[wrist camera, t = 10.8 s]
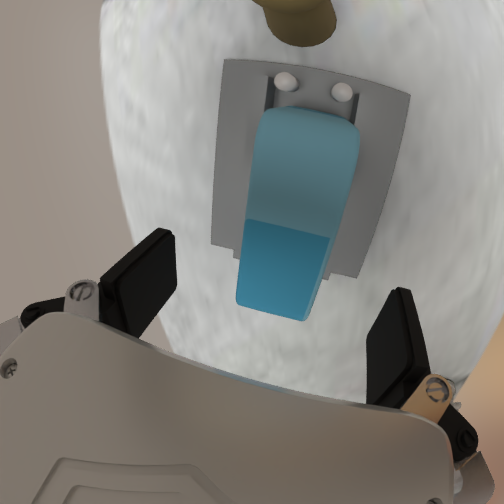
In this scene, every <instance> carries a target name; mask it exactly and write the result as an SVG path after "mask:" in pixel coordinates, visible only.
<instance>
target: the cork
mask: <svg viewBox="0 0 504 504" xmlns="http://www.w3.org/2000/svg"><path fill="white" fill-rule="evenodd" d="M252 1H254V2H255V3H257V4H258V5H260V6H261V7H263V10H264V13H265V17H266V20H267V24H268V27H269V29H270V30H271V32H272V33H273V35H274V36H276V37H277V38H278V39H279V40H281V41H282V42H285V43H287V44H289V45H292V46H299V47H308V46H315V45H317V44H320V43H323V42H324V41H325V40H327V39H328V38H329V37H331V35H332V33H333V32H334V30H335V28H336V21H337V19H336V15H335V12H334V9H333V6H332V3H331V1H330V0H252Z"/></svg>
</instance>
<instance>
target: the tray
mask: <svg viewBox="0 0 504 504" xmlns="http://www.w3.org/2000/svg"><path fill="white" fill-rule="evenodd" d="M410 96H411V95H410V94H407V93H404V92H402V91H399V90H396V89H393V88H390V87H387V86H384V85H381V84H377V83H374V82H370V81H367V80H363V79H360V78H356V77H352V76H348V75H344V74H339V73H335V72H330V71H325V70H320V69H315V68H309V67H303V66H296V65H289V64H281V63H272V62H262V61H248V60H224V65H223V74H222V83H221V93H220V104H219V115H218V126H217V139H216V153H215V168H214V184H213V203H212V226H211V244H212V245H216V246H221V247H225V248H229V249H233V250H234V254H233V258H236V259H240V255H241V246H242V238H243V230H244V222H245V213H246V205H247V197H248V189H249V181H250V173H251V166H252V158H253V150H254V143H255V137H256V132H257V128H258V125H259V122H260V119H261V117H262V115H263V113H264V112H265V111H266V110H268V109H271V108H278V107H285V106H296V107H302V108H307V109H311V110H316V111H321V112H325V113H330V114H334V115H338V116H342V117H344V118H345V119H346V120H348V121H349V122H350V123H352V124H353V125H354V126H355V127H356V128H357V129H358V130H359V133H360V147H359V154H358V159H357V164H356V168H355V172H354V176H353V180H352V184H351V187H350V191H349V195H348V198H347V202H346V205H345V209H344V212H343V216H342V219H341V222H340V226H339V229H338V232H337V235H336V239H335V242H334V245H333V248H332V251H331V254H330V257H329V260H328V263H327V266H326V269H325V272H324V275H323V278H322V279H325V280H328V279H329V276H330V273H335V274H340V275H344V276H348V277H353V278H357V277H358V274H359V272H360V269H361V267H362V264H363V262H364V259H365V256H366V254H367V251H368V248H369V246H370V243H371V240H372V238H373V235H374V232H375V229H376V226H377V223H378V220H379V217H380V214H381V211H382V208H383V205H384V202H385V199H386V195H387V192H388V189H389V185H390V182H391V178H392V175H393V171H394V168H395V164H396V160H397V156H398V152H399V148H400V144H401V140H402V136H403V131H404V127H405V122H406V117H407V112H408V107H409V101H410Z"/></svg>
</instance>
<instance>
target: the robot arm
mask: <svg viewBox="0 0 504 504" xmlns="http://www.w3.org/2000/svg"><path fill="white" fill-rule="evenodd" d="M176 287H177V272H176V253H175V236H174V235H173V234H172V232H171V231H170V230H167V229H163V228H157V229H156V230H154V231H153V232H152V233H151V234H150V235H148V236H147V237H146V238H145V239H144V240H142V241H141V242H140V243H139V244H138V245H137V246H135V247H134V248H133V249H132V250H131V251H130V252H128V253H127V254H126V255H125V256H124V257H123V258H122V259H120V260H119V261H118V262H117V263H116V264H115V265H114V266H113V267H111V268H110V269H109V270H108V271H107V272H106V273H105V274H104V275H103V276H102V277H101V278H100V282H99V283H98V284H97V283H96V282H94V281H92V280H88V279H87V280H80V281H77V282H75V283H73V284H72V285H71V286H70V287H69V288H68V289H67V292H66V296H65V297H61V298H56V299H51V300H47V301H41V302H37V303H33V304H31V305H29V306H27V307H26V308H25V309H24V310H23V312H22V314H21V317H20V318H18V316H16V317H14V318H12V319H10V320H8V321H6V322H4V323H1V324H0V504H486V503H487V502H488V501H489V499H490V498H491V497H492V495H493V492H494V487H495V484H494V480H493V478H492V475H491V473H490V471H489V469H488V466H487V464H486V462H485V460H484V458H483V456H482V454H481V451H478V452H477V451H476V449H477V446H478V435H477V432H476V431H475V429H474V428H473V427H472V426H471V425H470V424H469V422H468V421H467V420H466V419H465V418H464V417H463V416H462V415H461V414H460V413H459V412H458V409H459V408H460V407H461V403H460V402H456V403H453V399H452V397H453V395H454V393H455V386H454V384H453V382H451V381H449V380H446V379H445V378H444V377H442V376H441V375H438V374H431V371H430V366H429V361H428V355H427V351H426V346H425V341H424V337H423V333H422V329H421V326H420V322H419V318H418V314H417V310H416V307H415V303H414V300H413V296H412V293H411V290H409V289H405V288H401V287H397V288H396V289H395V290H394V289H393V290H391V292H390V294H389V296H388V298H387V300H386V302H385V304H384V306H383V308H382V310H381V311H380V313H379V315H378V317H377V319H376V321H375V322H374V324H373V326H372V328H371V329H370V331H369V333H368V335H367V339H366V353H367V395H366V404H363V403H356V402H350V401H345V400H339V399H334V398H328V397H323V396H318V395H313V394H308V393H304V392H299V391H295V390H291V389H286V388H282V387H278V386H274V385H271V384H267V383H263V382H259V381H256V380H252V379H249V378H245V377H242V376H239V375H235V374H232V373H229V372H226V371H223V370H219V369H216V368H213V367H210V366H208V365H205V364H202V363H199V362H196V361H193V360H191V359H188V358H185V357H182V356H180V355H177V354H174V353H172V352H169V351H167V350H164V349H162V348H159V347H157V346H154V345H152V344H150V343H147V342H145V341H142V340H140V339H139V337H140V336H141V335H142V333H143V332H144V330H145V329H146V328H147V327H148V325H149V324H150V322H151V321H152V320H153V319H154V317H155V316H156V315H157V313H158V312H159V311H160V310H161V308H162V307H163V306H164V304H165V303H166V302H167V300H168V299H169V298H170V296H171V295H172V294H173V293H174V291H175V290H176Z"/></svg>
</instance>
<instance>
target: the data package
mask: <svg viewBox="0 0 504 504" xmlns="http://www.w3.org/2000/svg"><path fill="white" fill-rule="evenodd" d="M359 147H360V133H359V130H358V129H357V128H356V127H355V126H354V125H353V124H352V123H350V122H349V121H348V120H346V119H345V118H344V117H342V116H338V115H334V114H330V113H325V112H321V111H316V110H311V109H307V108H302V107H296V106H285V107H278V108H271V109H268V110H266V111H265V112H264V113H263V115H262V117H261V119H260V122H259V125H258V128H257V132H256V137H255V143H254V150H253V158H252V166H251V173H250V181H249V189H248V197H247V205H246V213H245V222H244V230H243V238H242V246H241V255H240V263H239V272H238V281H237V289H236V302H237V304H238V305H240V306H244V307H248V308H251V309H255V310H259V311H263V312H267V313H270V314H274V315H278V316H282V317H286V318H290V319H295V320H299V321H305V320H306V319H307V318H308V316H309V313H310V311H311V308H312V306H313V303H314V300H315V297H316V295H317V292H318V289H319V286H320V284H321V281H322V278H323V275H324V272H325V269H326V266H327V263H328V260H329V257H330V254H331V251H332V248H333V245H334V242H335V239H336V235H337V232H338V229H339V226H340V222H341V219H342V216H343V212H344V209H345V205H346V202H347V198H348V195H349V191H350V187H351V184H352V180H353V176H354V172H355V168H356V164H357V159H358V154H359Z"/></svg>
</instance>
